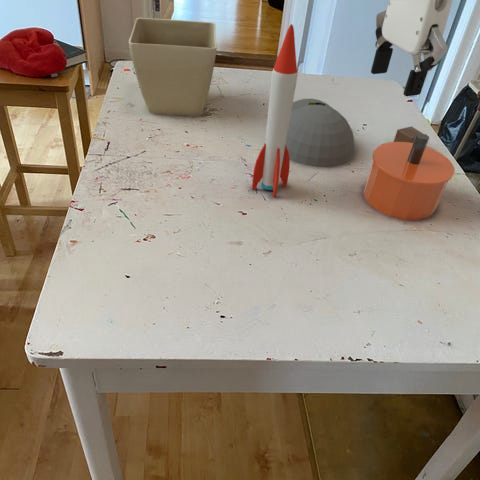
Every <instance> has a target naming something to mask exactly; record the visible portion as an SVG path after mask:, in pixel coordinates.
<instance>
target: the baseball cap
mask: <svg viewBox="0 0 480 480" xmlns="http://www.w3.org/2000/svg"><path fill="white" fill-rule="evenodd" d="M286 147H287V149H288V153H289V159H290V161H292V162H293V163H297V164H301V165H304V166H309V167H316V168H331V167H337V166H341V165H342V164H343V165H344V164H346V163H347V162H348V161H350V160H351V159H352V158H353V156H354V150H355V139H354V132H353V130H352V128H351V126H350V124H349V122H348V120H347V119H346V118H345V117H344V116H343V115H342V114H341V113H340V112H339V111H338V110H336V109H334V108H333V107H332V106H331V105H329V104H328V103H327V102H325V101H322V100H320V99H316V98H302V99H298V100H295V101H293V105H292V110H291V116H290V122H289V127H288V133H287V139H286Z"/></svg>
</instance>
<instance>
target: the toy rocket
mask: <svg viewBox="0 0 480 480" xmlns="http://www.w3.org/2000/svg"><path fill="white" fill-rule="evenodd" d="M295 41H296V39H295V28H294V25H293V23H291V24H289V26H288V28H287V31H286V33H285V36H284V39H283V42H282V44H281V47H280V50H279V53H278V55H277V58H276V61H275V63H274V66H273V69H272V72H271V79H270V89H269V99H268V109H267V118H266V119H267V120H266V129H265V138H264V144H263V146H262V147H261V149H260V151H259V153H258V156H257V158H256V160H255V164H254V167H253V173H252V183H251V190H252V191H255V190H256V189H257V186H258V185H259V183H260V186H261V188H262V189H264V190H267V191H272V197H273V198H274V199H276V198H277V193H278V188H279V185H280V180H281V184H282V187H283V188H287V187H288V180H289V175H290V165H291V164H290V162H291V160H290V159H289V153H288V149H287V147H286V139H287V133H288V127H289V122H290V116H291V110H292V105H293V102H294V99H295V94H296V87H297V81H298V65H297V53H296V42H295Z"/></svg>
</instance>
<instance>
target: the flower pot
mask: <svg viewBox="0 0 480 480" xmlns="http://www.w3.org/2000/svg"><path fill="white" fill-rule="evenodd" d="M216 34H217V33H216V23H214V22H212V21H211V22H210V21H197V20H196V21H195V20H182V19H170V18H169V19H166V18H151V17H136V18H135V21H134V24H133V27H132V30H131V33H130V36H129V39H128V47H129V52H130V57H131V61H132V65H133V69H134V74H135V77H136V79H137V83H138V86H139V90H140V93H141V95H142V99H143V100H144V103H145V106H146V108H147V111H148V113H149V114H153V115H171V116H172V115H173V116H190V117H201V116H202V115H203V112H204V109H205V106H206V102H207V99H208V96H209V92H210V88H211V84H212V78H213V75H214V69H215V64H216V63H215V62H216V58H217V57H216V56H217V48H218V45H217V36H216Z"/></svg>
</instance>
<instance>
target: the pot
mask: <svg viewBox="0 0 480 480" xmlns="http://www.w3.org/2000/svg"><path fill="white" fill-rule="evenodd" d="M448 183H449V181H447V182H445V183H443V184H439V185H416V184H411V183H407V182H403V181H400V180H398V179H395V178H393V177H391V176H389V175H387V174H385V173H384V172H382V171H381V170H380V169H379V168H378V167H377V166H376V165H375V163H374V161H373V160H372V163H371V167H370V169H369V172H368V176H367V180H366V181H365V186H364V189H363V197H364V198H365V200H366V202H367V204H369V205H370V206H371V207H372V208H373V209H374V210H376V211H377V212H379V213H381V214H384V215H386V216H388V217H390V218H395V219H400V220H403V221H420V220H424V219H426V218H429V217H431V216H432V215H433V214H434V212H436V210H437V207H438V205H439V204H440V201H441V199H442V196H443V194H444V192H445V189H446V188H447V185H448Z"/></svg>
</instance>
